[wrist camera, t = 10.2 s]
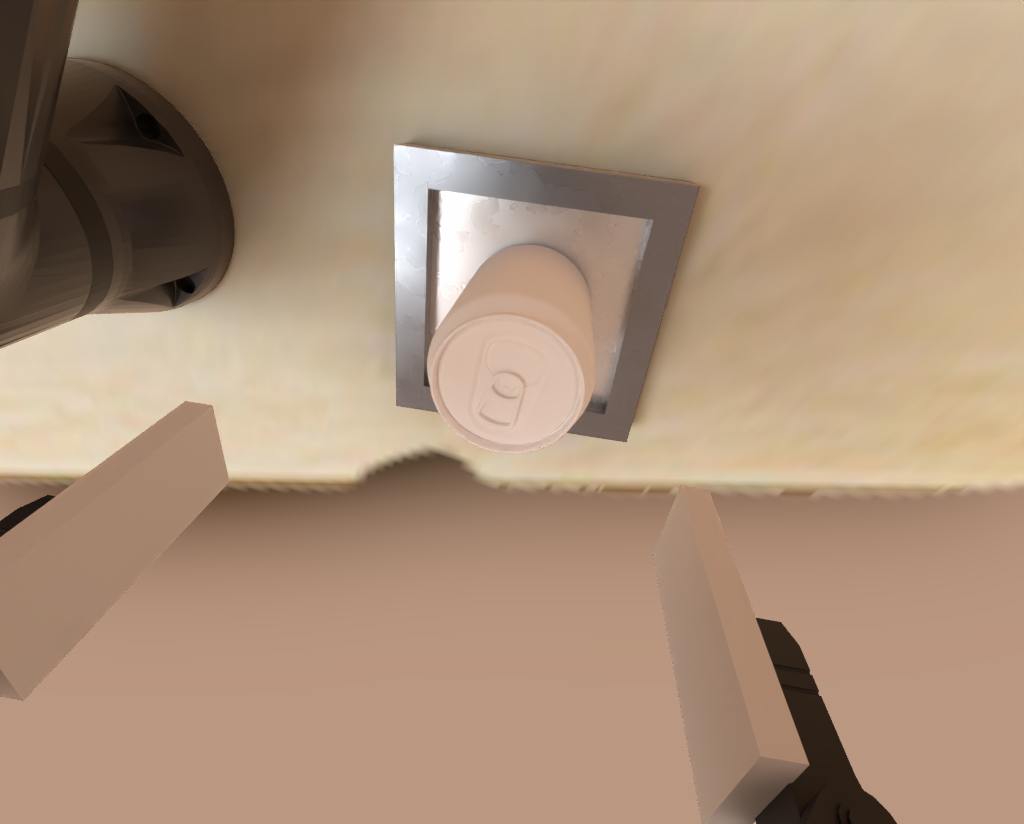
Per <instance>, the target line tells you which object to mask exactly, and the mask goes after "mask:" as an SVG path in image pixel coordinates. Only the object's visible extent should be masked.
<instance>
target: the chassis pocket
mask: <svg viewBox="0 0 1024 824" xmlns="http://www.w3.org/2000/svg"><path fill="white" fill-rule="evenodd" d="M699 187H700V186H698V185H696V184H694V183H692V182H689V181H681V180H674V179H667V178H659V177H652V176H645V175H637V174H630V173H623V172H615V171H608V170H601V169H594V168H586V167H579V166H572V165H564V164H557V163H550V162H542V161H535V160H528V159H520V158H513V157H506V156H498V155H491V154H484V153H477V152H469V151H462V150H455V149H447V148H440V147H433V146H425V145H418V144H411V143H403V144H395V145H394V224H395V318H396V406H402V407H408V408H414V409H420V410H427V411H433V412H438V410H437V408H436V406H435V404H434V401H433V398H432V395H431V390H430V385H429V380H428V373H427V358H428V352H429V347H430V344H431V341H432V338H433V336H434V334H435V332H436V330H437V329H438V327H439V325H440V324H441V322H442V321H443V319H444V318H445V317H446V315H447V314H448V312H449V311H450V309H451V308H452V306H453V305H454V303H455V302H456V300H457V299H458V297H459V296H460V295H461V293H462V292H463V290H464V289H465V287H466V286H467V284H468V283H469V281H470V280H471V278H472V277H473V275H474V274H475V273H476V271H477V270H478V268H479V267H480V266H481V265H482V264H483V263H484V262H485V261H486V260H487V259H488V258H489V257H491V256H492V255H493V254H495V253H497V252H499V251H501V250H503V249H505V248H508V247H512V246H516V245H525V244H529V245H539V246H543V247H547V248H550V249H552V250H555V251H557V252H558V253H560V254H562V255H563V256H565V257H566V258H568V259H569V260H570V261H571V262H572V263H573V264H574V265H575V266H576V267H577V269H578V270H579V271H580V273H581V274H582V276H583V278H584V280H585V282H586V284H587V287H588V290H589V294H590V300H591V313H592V327H593V341H594V356H595V384H594V389H593V393H592V396H591V399H590V401H589V404H588V406H587V407H586V409H585V411H584V412H583V414H582V415H581V417H580V418H579V419H578V420H577V421H576V423H575V424H574V425H573V426H572V427H571V428H570V429H569V430H568V432H567V433H571V434H578V435H584V436H590V437H597V438H603V439H609V440H615V441H622V442H627V439H628V435H629V432H630V428H631V425H632V421H633V418H634V414H635V411H636V407H637V404H638V400H639V397H640V393H641V390H642V386H643V383H644V379H645V376H646V372H647V369H648V365H649V362H650V358H651V355H652V351H653V348H654V344H655V341H656V337H657V334H658V330H659V327H660V323H661V320H662V316H663V313H664V309H665V306H666V302H667V299H668V295H669V292H670V288H671V285H672V282H673V278H674V275H675V271H676V268H677V264H678V261H679V257H680V254H681V250H682V247H683V243H684V240H685V236H686V233H687V229H688V226H689V222H690V219H691V215H692V212H693V208H694V205H695V201H696V198H697V194H698V191H699Z"/></svg>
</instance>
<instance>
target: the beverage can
mask: <svg viewBox="0 0 1024 824" xmlns="http://www.w3.org/2000/svg"><path fill="white" fill-rule="evenodd" d="M427 373H428V380H429V385H430V390H431V395H432V398H433V401H434V404H435V406H436V408H437V410H438V412H439V414H440V415H441V417H442V418H443V420H444V421H445V422H446V424H447V425H448V426H449V427H450V428H451V429H452V430H453V431H454V432H455V433H457V434H458V435H459V436H460V437H462V438H463V439H465V440H466V441H468V442H470V443H472V444H474V445H476V446H478V447H480V448H483V449H486V450H489V451H494V452H499V453H509V454H516V453H526V452H531V451H535V450H538V449H541V448H544V447H546V446H548V445H550V444H552V443H554V442H555V441H557V440H558V439H560V438H561V437H562V436H563V435H564V434H565V433H567V432H568V430H569V429H570V428H571V427H572V426H573V425H574V424H575V423H576V421H577V420H578V419H579V418H580V417H581V415H582V414H583V412H584V411H585V409H586V407H587V406H588V404H589V401H590V399H591V396H592V393H593V389H594V384H595V356H594V341H593V327H592V313H591V300H590V294H589V290H588V287H587V284H586V282H585V280H584V278H583V276H582V274H581V273H580V271H579V270H578V269H577V267H576V266H575V265H574V264H573V263H572V262H571V261H570V260H569V259H568V258H566V257H565V256H563V255H562V254H560V253H558V252H557V251H555V250H552V249H550V248H547V247H543V246H539V245H529V244H525V245H516V246H512V247H508V248H505V249H503V250H501V251H499V252H497V253H495V254H493V255H492V256H491V257H489V258H488V259H487V260H486V261H485V262H484V263H483V264H482V265H481V266H480V267H479V268H478V270H477V271H476V273H475V274H474V275H473V277H472V278H471V280H470V281H469V283H468V284H467V286H466V287H465V289H464V290H463V292H462V293H461V295H460V296H459V297H458V299H457V300H456V302H455V303H454V305H453V306H452V308H451V309H450V311H449V312H448V314H447V315H446V317H445V318H444V319H443V321H442V322H441V324H440V325H439V327H438V329H437V330H436V332H435V334H434V336H433V338H432V341H431V344H430V347H429V352H428V358H427Z"/></svg>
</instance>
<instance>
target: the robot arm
mask: <svg viewBox="0 0 1024 824" xmlns="http://www.w3.org/2000/svg"><path fill="white" fill-rule="evenodd" d="M78 2H79V0H0V349H1V348H3V347H6V346H8V345H11V344H13V343H16V342H18V341H21V340H23V339H26V338H28V337H31V336H33V335H36V334H38V333H41V332H43V331H46V330H48V329H51V328H54V327H56V326H59V325H61V324H63V323H66V322H68V321H71V320H73V319H76V318H79V317H81V316H84V315H87V314H113V313H145V312H162V311H167V310H172V309H176V308H179V307H182V306H184V305H186V304H188V303H191V302H193V301H195V300H197V299H199V298H201V297H203V296H205V295H206V294H208V293H209V292H210V291H211V290H212V289H214V288H215V287H216V285H217V284H218V283H219V282H220V281H221V279H222V278H223V276H224V274H225V273H226V271H227V268H228V266H229V263H230V260H231V256H232V252H233V246H234V220H233V213H232V208H231V203H230V199H229V196H228V192H227V189H226V186H225V183H224V181H223V178H222V176H221V174H220V171H219V169H218V167H217V165H216V163H215V161H214V159H213V157H212V156H211V154H210V152H209V151H208V149H207V147H206V146H205V144H204V143H203V141H202V140H201V138H200V137H199V135H198V134H197V133H196V131H195V130H194V129H193V128H192V126H191V125H190V124H189V123H188V122H187V120H186V119H185V118H184V117H183V116H182V115H181V114H180V113H179V112H178V111H177V110H176V109H175V108H174V107H173V106H172V105H171V104H170V103H169V102H168V101H167V100H166V99H165V98H163V97H162V96H161V95H160V94H159V93H157V92H156V91H155V90H153V89H152V88H151V87H149V86H148V85H146V84H145V83H143V82H142V81H140V80H139V79H137V78H135V77H134V76H132V75H130V74H128V73H126V72H124V71H122V70H119V69H117V68H115V67H112V66H109V65H106V64H103V63H99V62H94V61H89V60H81V59H73V58H67V53H68V48H69V44H70V39H71V34H72V30H73V25H74V20H75V16H76V11H77V7H78ZM228 483H229V478H228V473H227V469H226V464H225V460H224V455H223V451H222V446H221V442H220V438H219V433H218V429H217V424H216V420H215V415H214V411H213V406H212V405H206V404H200V403H194V402H188V401H185V402H184V403H182V404H181V405H180V406H178V407H177V408H176V409H174V410H173V411H171V412H170V413H169V414H167V415H166V416H165V417H163V418H162V419H161V420H159V421H158V422H156V423H155V424H154V425H152V426H151V427H150V428H148V429H147V430H146V431H144V432H143V433H141V434H140V435H139V436H137V437H136V438H135V439H133V440H132V441H131V442H129V443H128V444H127V445H125V446H124V447H122V448H121V449H120V450H118V451H117V452H116V453H114V454H113V455H112V456H110V457H109V458H107V459H106V460H105V461H103V462H102V463H101V464H99V465H98V466H97V467H95V468H94V469H93V470H91V471H90V472H88V473H87V474H86V475H84V476H83V477H82V478H80V479H79V480H78V481H76V482H75V483H73V484H72V485H71V486H69V487H68V488H67V489H65V490H64V491H63V492H62V493H60V494H58V495H57V496H50V495H47V496H45V497H42V498H40V499H38V500H36V501H34V502H32V503H29V504H27V505H25V506H23V507H20V508H18V509H17V510H15V511H14V512H12V513H11V514H10V515H8V516H7V517H5V518H4V519H2V520H1V521H0V697H6V698H11V699H17V700H22V701H23V700H25V699H26V698H27V696H28V695H29V694H30V693H31V692H32V691H33V690H34V689H35V688H36V687H37V686H38V685H39V684H40V683H41V681H43V679H44V678H45V677H46V676H47V675H48V674H49V673H50V672H51V671H52V670H53V669H54V668H55V667H56V666H57V665H58V664H59V662H60V661H61V660H62V659H63V658H64V657H65V656H66V655H67V654H68V653H69V652H70V651H71V649H73V648H74V646H75V645H76V644H77V643H78V642H79V641H80V640H81V639H82V638H83V637H84V636H85V635H86V634H87V633H88V631H90V629H91V628H92V627H93V626H94V625H95V624H96V623H97V622H98V621H99V620H100V619H101V618H102V617H103V615H104V614H106V612H107V611H108V610H109V609H110V608H111V607H112V606H113V605H114V604H115V603H116V602H117V601H118V600H119V599H120V597H121V596H122V595H123V594H124V593H125V592H126V591H127V590H128V589H129V588H130V587H131V586H132V585H133V584H134V583H135V582H136V581H137V579H138V578H139V577H140V576H141V575H142V574H143V573H144V572H145V571H146V570H147V569H148V568H149V567H150V566H151V565H152V563H153V562H154V561H155V560H156V559H157V558H158V557H159V556H160V555H161V554H162V553H163V552H164V551H165V550H166V549H167V547H168V546H169V545H170V544H171V543H172V542H173V541H174V540H175V539H176V538H177V537H178V536H179V535H180V534H181V533H182V532H183V531H184V529H185V528H186V527H187V526H188V525H189V524H190V523H191V522H192V521H193V520H194V519H195V518H196V517H197V516H198V514H199V513H200V512H201V511H202V510H203V509H204V508H205V507H206V506H207V505H208V504H209V503H210V502H211V501H212V500H213V499H214V498H215V496H216V495H217V494H218V493H219V492H220V491H221V490H222V489H223V488H224V487H225V486H226V485H227V484H228ZM653 560H654V566H655V571H656V577H657V582H658V588H659V593H660V598H661V604H662V609H663V615H664V620H665V626H666V631H667V637H668V642H669V648H670V653H671V658H672V664H673V670H674V675H675V680H676V686H677V691H678V697H679V702H680V708H681V713H682V718H683V724H684V729H685V735H686V740H687V745H688V751H689V756H690V762H691V767H692V772H693V778H694V784H695V789H696V795H697V801H698V806H699V811H700V817H701V822H702V824H753V823H754V822H755V821H756V824H897V823H896V822H895V820H894V819H893V817H892V816H891V814H890V813H889V812H888V811H887V810H886V809H885V808H884V807H883V806H882V805H881V804H880V803H879V802H878V801H877V800H876V799H875V798H874V797H873V796H871V795H869V794H868V793H867V792H865V791H864V790H863V789H862V787H861V785H860V784H859V782H858V780H857V778H856V776H855V774H854V772H853V769H852V767H851V765H850V762H849V760H848V758H847V755H846V753H845V751H844V748H843V746H842V744H841V742H840V739H839V737H838V735H837V732H836V730H835V727H834V725H833V723H832V720H831V718H830V716H829V714H828V711H827V709H826V707H825V704H824V702H823V699H822V697H821V696H819V694H818V692H819V690H818V688H817V685H816V683H815V681H814V679H813V676H812V675H810V673H809V672H810V669H809V667H808V664H807V662H806V660H805V658H804V655H803V653H802V651H801V648H800V646H799V645H798V643H797V642H796V641H795V639H794V638H793V637H792V636H791V634H790V633H789V632H788V631H787V629H786V628H785V627H784V626H783V624H782V623H781V622H777V621H771V620H765V619H760V618H755V615H754V612H753V609H752V607H751V604H750V601H749V598H748V596H747V593H746V590H745V588H744V585H743V582H742V579H741V577H740V574H739V571H738V568H737V566H736V563H735V560H734V557H733V555H732V552H731V549H730V547H729V544H728V541H727V538H726V536H725V533H724V530H723V527H722V525H721V522H720V519H719V517H718V514H717V511H716V508H715V506H714V503H713V500H712V498H711V495H710V492H709V490H706V489H700V488H694V487H688V486H682V485H681V486H680V489H679V491H678V494H677V496H676V499H675V501H674V503H673V506H672V508H671V511H670V513H669V516H668V518H667V521H666V523H665V526H664V528H663V531H662V533H661V535H660V538H659V541H658V543H657V546H656V548H655V550H654V553H653Z"/></svg>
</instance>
